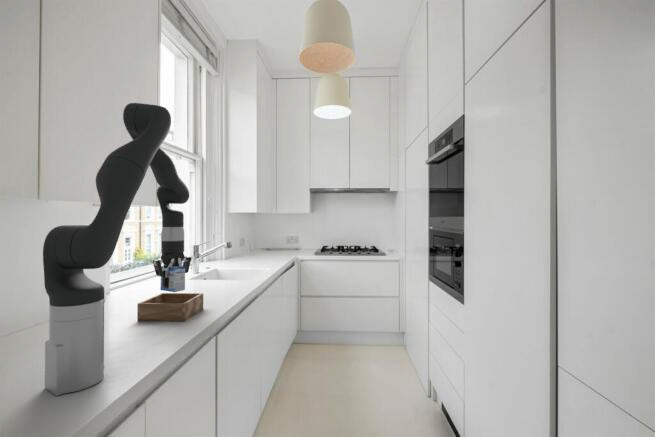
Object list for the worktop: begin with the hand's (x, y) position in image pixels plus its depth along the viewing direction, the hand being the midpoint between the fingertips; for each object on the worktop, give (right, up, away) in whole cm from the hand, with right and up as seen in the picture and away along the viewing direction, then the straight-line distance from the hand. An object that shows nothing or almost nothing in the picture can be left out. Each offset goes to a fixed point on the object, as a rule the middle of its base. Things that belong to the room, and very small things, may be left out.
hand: (172, 286), depth 118 cm
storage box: (0, -10, 0) cm, 10 cm away
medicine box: (0, -2, 0) cm, 2 cm away
